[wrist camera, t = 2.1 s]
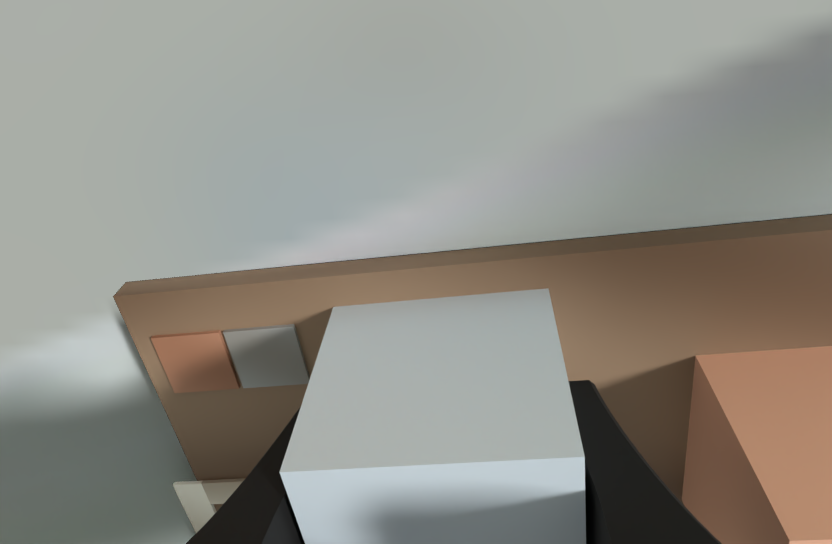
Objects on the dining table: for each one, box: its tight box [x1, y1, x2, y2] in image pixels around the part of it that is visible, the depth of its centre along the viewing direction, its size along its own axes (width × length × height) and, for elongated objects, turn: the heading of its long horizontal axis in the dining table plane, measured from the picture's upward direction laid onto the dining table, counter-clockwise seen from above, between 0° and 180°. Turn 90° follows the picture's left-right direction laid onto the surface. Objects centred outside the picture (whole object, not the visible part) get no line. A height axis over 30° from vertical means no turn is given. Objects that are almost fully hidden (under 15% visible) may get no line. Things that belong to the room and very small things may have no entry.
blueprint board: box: [113, 215, 832, 533], centre depth 16 cm, size 13×18×1 cm
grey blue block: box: [279, 288, 586, 544], centre depth 12 cm, size 4×4×4 cm
